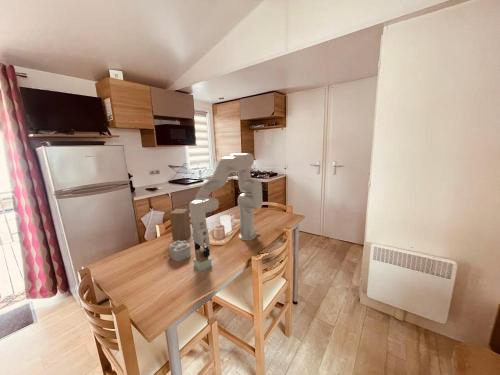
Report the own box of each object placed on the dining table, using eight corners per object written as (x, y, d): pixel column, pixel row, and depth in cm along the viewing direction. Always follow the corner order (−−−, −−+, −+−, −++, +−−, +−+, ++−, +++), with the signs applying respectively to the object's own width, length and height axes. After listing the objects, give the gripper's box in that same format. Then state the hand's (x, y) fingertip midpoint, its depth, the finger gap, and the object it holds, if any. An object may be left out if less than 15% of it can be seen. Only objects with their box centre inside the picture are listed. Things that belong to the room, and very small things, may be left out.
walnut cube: (203, 255, 114) (203, 247, 113) (208, 258, 110) (207, 250, 109) (195, 258, 110) (194, 250, 109) (200, 262, 107) (199, 253, 106)
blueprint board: (210, 253, 123) (210, 252, 123) (224, 263, 113) (224, 262, 113) (186, 265, 113) (185, 263, 113) (198, 276, 103) (198, 275, 103)
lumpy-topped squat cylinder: (177, 263, 115) (175, 250, 113) (166, 255, 123) (165, 242, 122) (193, 256, 122) (191, 243, 120) (182, 249, 131) (181, 236, 129)
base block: (205, 260, 116) (204, 253, 115) (211, 265, 111) (211, 258, 110) (193, 265, 111) (193, 258, 110) (200, 270, 106) (199, 264, 105)
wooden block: (191, 233, 153) (188, 208, 148) (186, 240, 143) (182, 213, 139) (178, 233, 154) (175, 208, 149) (172, 239, 144) (169, 213, 140)
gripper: (214, 226, 102) (217, 256, 106) (197, 217, 115) (200, 245, 119) (200, 230, 97) (204, 262, 101) (184, 221, 110) (188, 250, 114)
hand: (202, 253), depth 110 cm, fingers open, 9 cm apart
